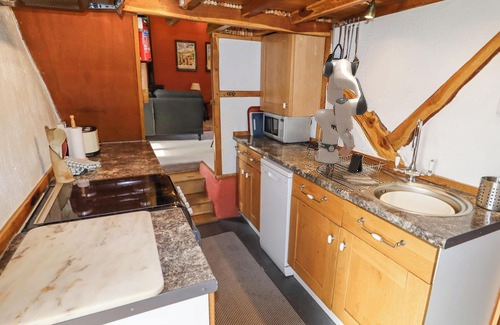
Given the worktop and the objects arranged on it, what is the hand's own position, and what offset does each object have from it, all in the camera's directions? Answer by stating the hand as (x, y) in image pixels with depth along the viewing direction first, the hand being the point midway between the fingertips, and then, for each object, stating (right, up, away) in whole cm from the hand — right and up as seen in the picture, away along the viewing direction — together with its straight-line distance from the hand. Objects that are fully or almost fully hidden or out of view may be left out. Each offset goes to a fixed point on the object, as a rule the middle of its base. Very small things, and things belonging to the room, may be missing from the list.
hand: (346, 148), depth 166 cm
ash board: (+9, -20, +2) cm, 22 cm away
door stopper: (+13, -15, +23) cm, 30 cm away
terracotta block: (-2, -4, +2) cm, 5 cm away
